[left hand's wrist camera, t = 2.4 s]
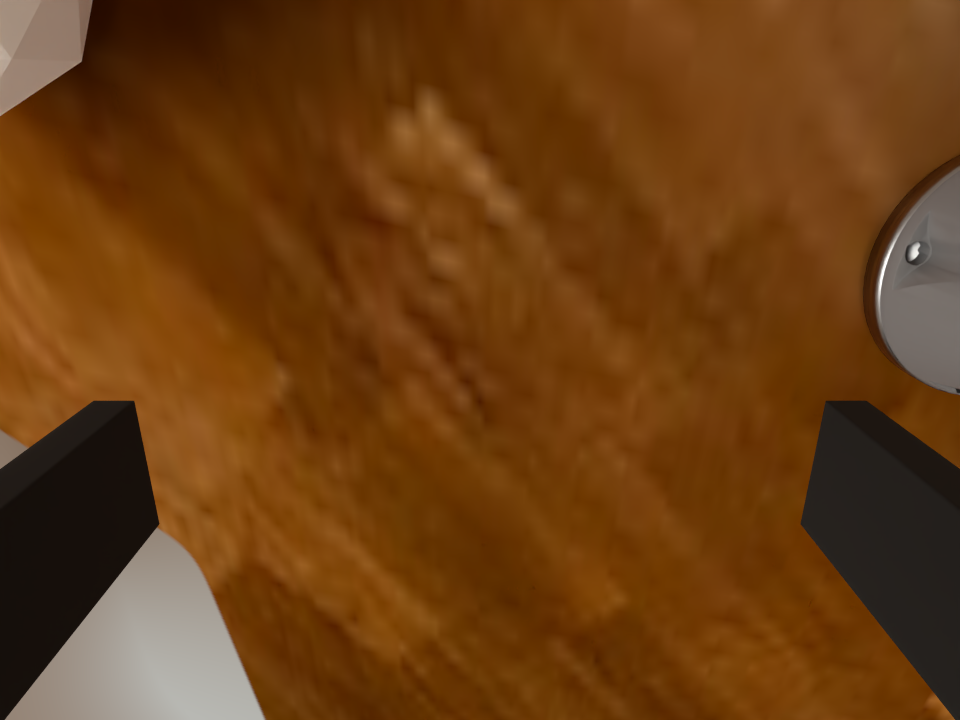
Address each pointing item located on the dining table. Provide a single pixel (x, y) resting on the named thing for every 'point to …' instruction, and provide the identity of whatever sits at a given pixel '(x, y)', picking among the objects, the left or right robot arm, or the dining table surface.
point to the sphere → (38, 44)
